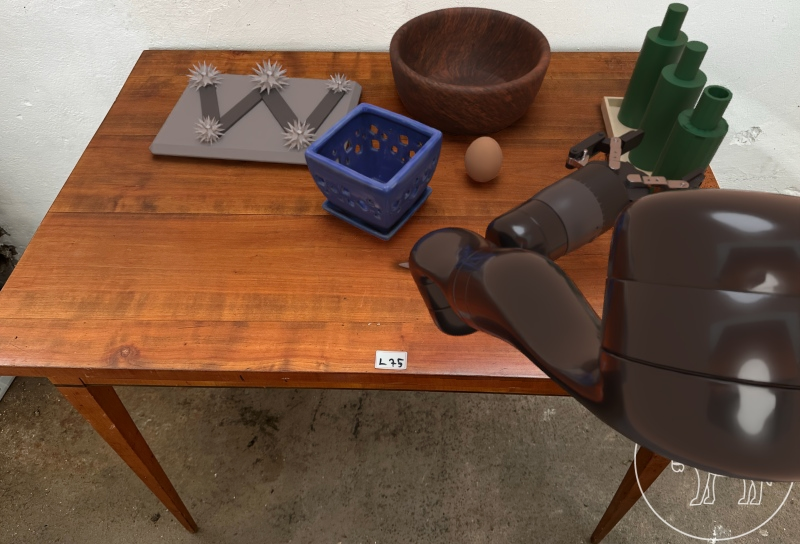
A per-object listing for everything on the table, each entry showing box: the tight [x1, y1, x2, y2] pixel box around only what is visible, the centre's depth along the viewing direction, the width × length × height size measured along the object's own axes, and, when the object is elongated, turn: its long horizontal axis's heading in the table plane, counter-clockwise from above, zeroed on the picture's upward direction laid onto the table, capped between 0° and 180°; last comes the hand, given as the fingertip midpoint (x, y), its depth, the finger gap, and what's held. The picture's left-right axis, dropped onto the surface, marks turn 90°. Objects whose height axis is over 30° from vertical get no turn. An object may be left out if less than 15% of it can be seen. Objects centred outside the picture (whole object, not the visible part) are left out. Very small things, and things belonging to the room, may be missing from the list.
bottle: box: [650, 84, 734, 194], centre depth 68 cm, size 6×6×18 cm
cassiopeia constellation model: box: [148, 59, 363, 166], centre depth 86 cm, size 30×22×7 cm
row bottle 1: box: [617, 2, 689, 130], centre depth 80 cm, size 6×6×18 cm
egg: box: [463, 136, 504, 183], centre depth 77 cm, size 5×5×7 cm
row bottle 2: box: [628, 40, 709, 172], centre depth 74 cm, size 6×6×18 cm
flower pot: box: [305, 102, 444, 242], centre depth 71 cm, size 13×13×12 cm
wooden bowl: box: [388, 6, 552, 137], centre depth 88 cm, size 25×25×10 cm
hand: (669, 154), depth 64 cm, fingers open, 8 cm apart
